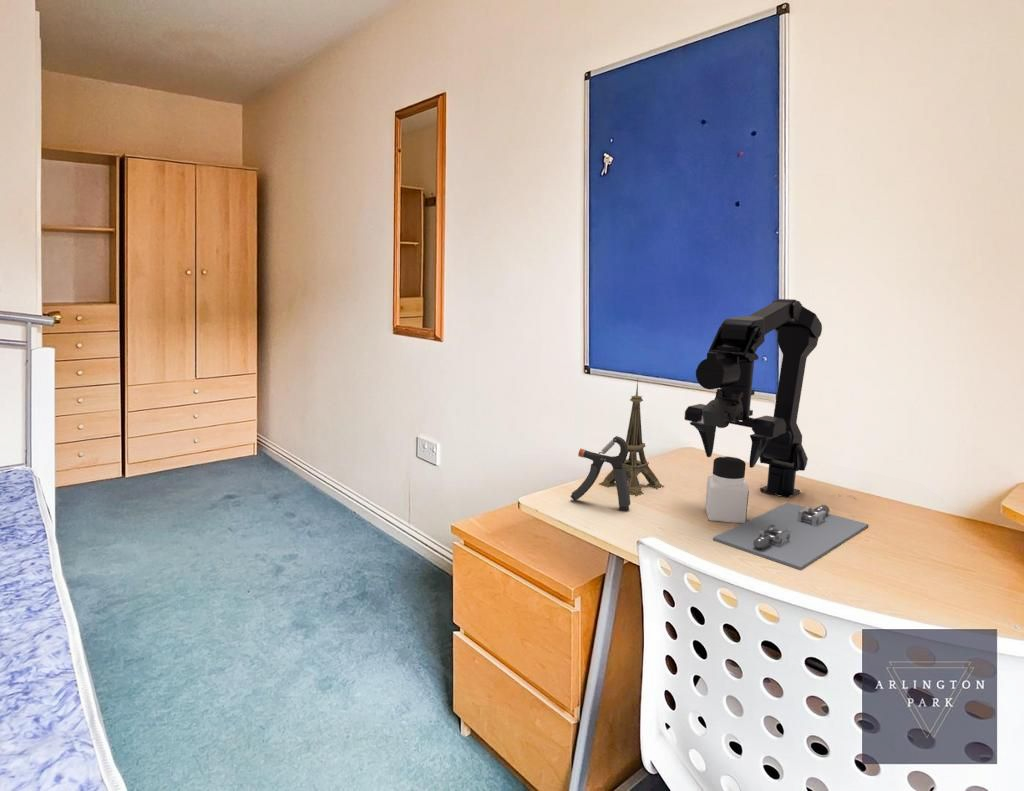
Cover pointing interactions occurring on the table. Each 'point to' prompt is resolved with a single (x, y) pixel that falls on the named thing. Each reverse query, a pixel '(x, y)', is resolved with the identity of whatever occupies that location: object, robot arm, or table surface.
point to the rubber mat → (792, 535)
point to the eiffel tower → (634, 454)
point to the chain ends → (782, 537)
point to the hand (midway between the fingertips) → (729, 462)
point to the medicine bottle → (727, 491)
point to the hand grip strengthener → (617, 469)
